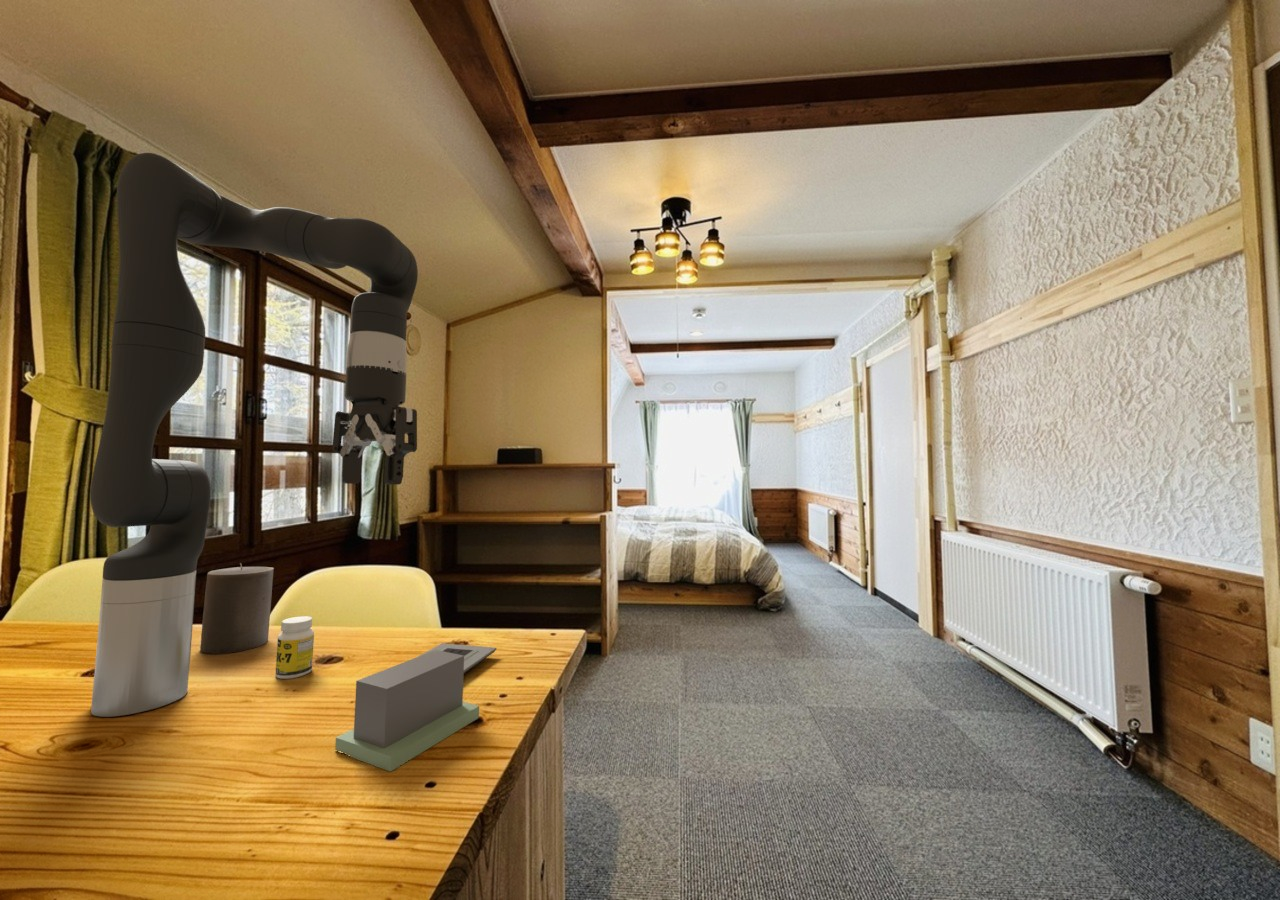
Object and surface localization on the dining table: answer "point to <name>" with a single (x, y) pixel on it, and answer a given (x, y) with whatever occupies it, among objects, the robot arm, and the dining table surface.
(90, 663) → the dining table surface
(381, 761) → the header board
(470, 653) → the electrical outlet
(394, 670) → the block
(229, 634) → the pillar candle
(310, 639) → the supplement bottle
